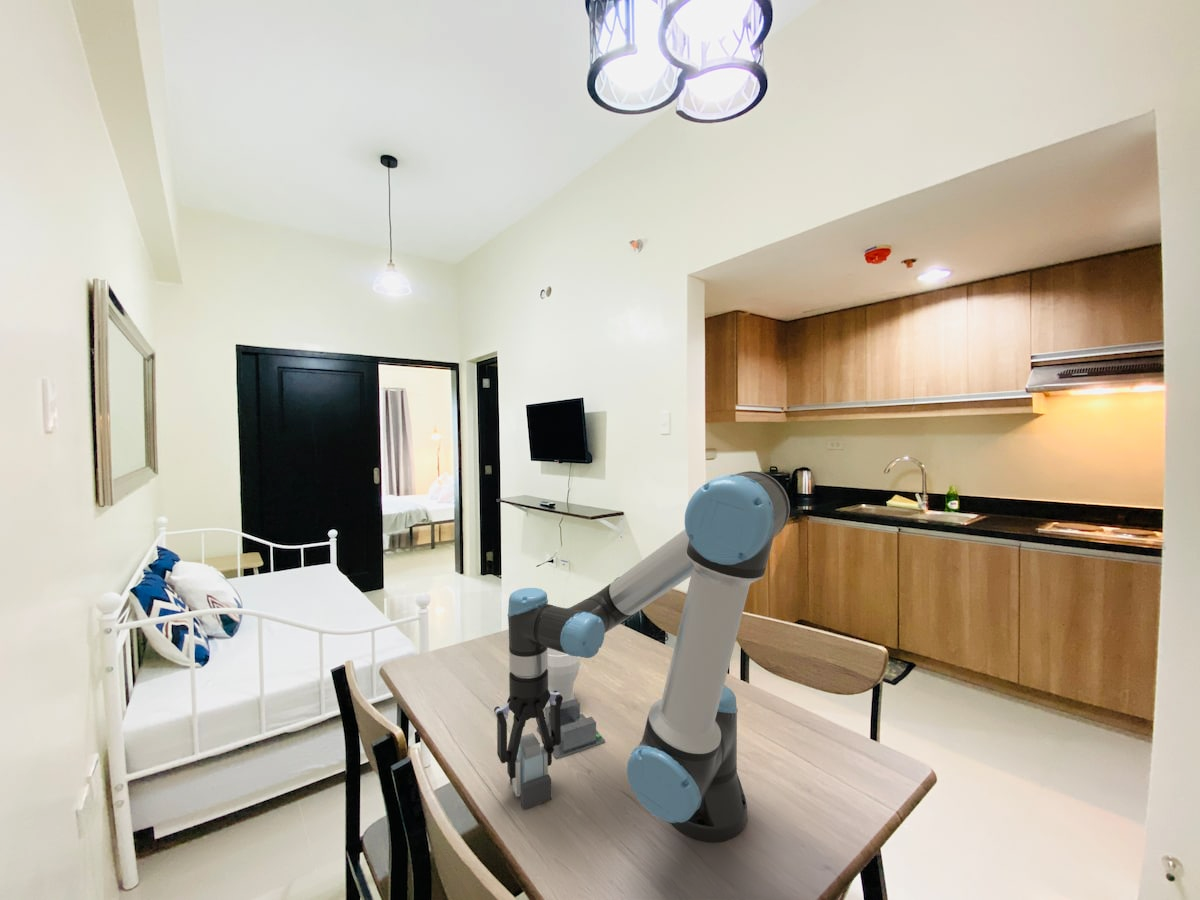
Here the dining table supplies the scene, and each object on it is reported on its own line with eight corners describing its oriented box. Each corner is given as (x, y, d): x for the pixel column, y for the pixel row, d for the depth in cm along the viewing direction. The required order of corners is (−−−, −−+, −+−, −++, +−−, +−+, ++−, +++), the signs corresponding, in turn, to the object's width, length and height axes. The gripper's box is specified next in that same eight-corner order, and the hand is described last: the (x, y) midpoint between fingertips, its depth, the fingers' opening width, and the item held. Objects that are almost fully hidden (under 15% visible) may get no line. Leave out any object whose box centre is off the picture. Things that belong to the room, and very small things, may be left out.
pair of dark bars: (551, 799, 92) (551, 778, 92) (523, 809, 89) (523, 788, 89) (536, 772, 99) (536, 753, 99) (510, 781, 97) (509, 762, 97)
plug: (543, 795, 93) (542, 744, 93) (525, 801, 91) (525, 750, 91) (534, 779, 97) (533, 730, 97) (517, 785, 96) (517, 735, 96)
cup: (574, 719, 118) (574, 658, 118) (533, 714, 120) (533, 655, 120) (584, 696, 129) (584, 640, 128) (546, 692, 131) (546, 637, 130)
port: (605, 742, 109) (604, 720, 109) (556, 759, 103) (555, 736, 103) (582, 715, 120) (582, 695, 119) (536, 729, 114) (536, 708, 114)
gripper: (563, 652, 101) (564, 760, 102) (478, 672, 93) (479, 790, 93) (578, 667, 95) (579, 783, 95) (488, 690, 86) (490, 817, 87)
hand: (530, 786), depth 94 cm, fingers open, 5 cm apart
